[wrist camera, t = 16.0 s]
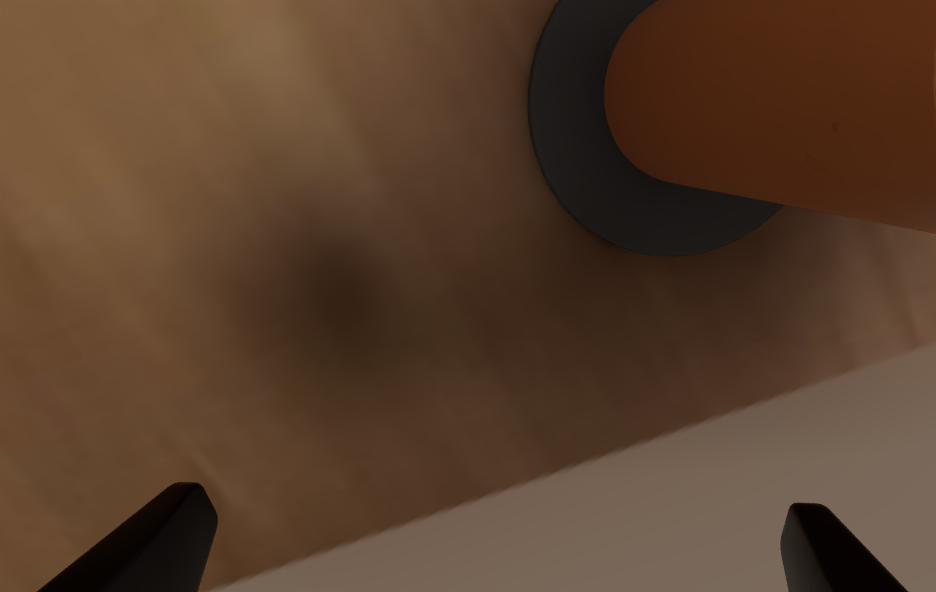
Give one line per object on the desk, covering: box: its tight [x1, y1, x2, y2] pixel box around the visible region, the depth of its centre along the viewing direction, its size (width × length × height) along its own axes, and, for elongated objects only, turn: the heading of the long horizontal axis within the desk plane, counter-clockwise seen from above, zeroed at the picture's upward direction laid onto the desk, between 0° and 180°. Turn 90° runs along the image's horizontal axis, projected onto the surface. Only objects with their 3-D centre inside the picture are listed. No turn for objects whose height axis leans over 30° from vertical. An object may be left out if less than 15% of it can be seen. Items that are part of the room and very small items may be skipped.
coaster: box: [528, 0, 784, 256], centre depth 18 cm, size 9×9×1 cm
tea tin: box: [604, 0, 936, 234], centre depth 12 cm, size 5×5×11 cm
